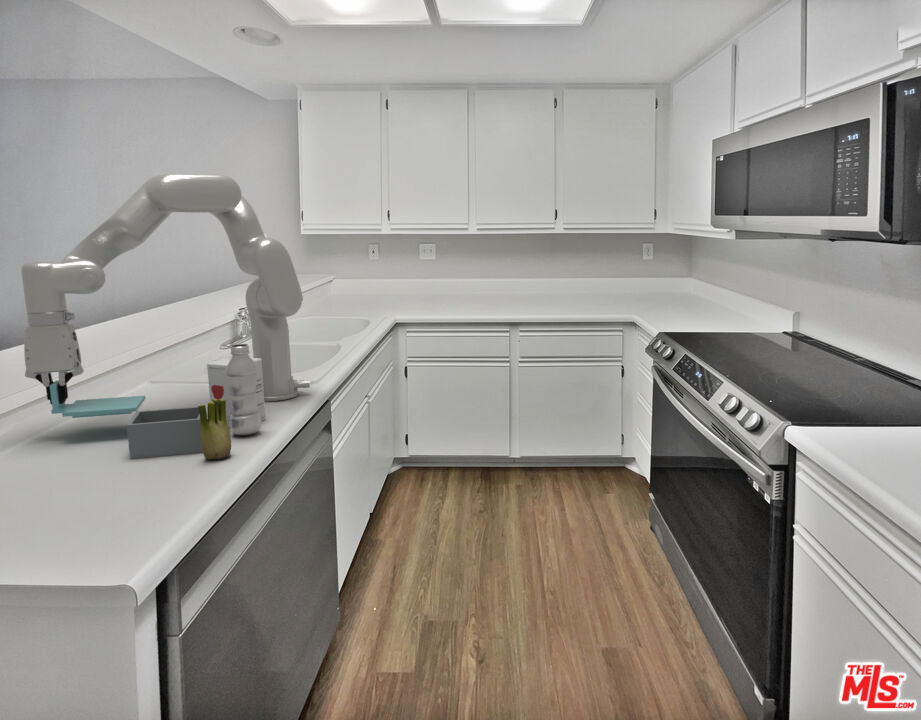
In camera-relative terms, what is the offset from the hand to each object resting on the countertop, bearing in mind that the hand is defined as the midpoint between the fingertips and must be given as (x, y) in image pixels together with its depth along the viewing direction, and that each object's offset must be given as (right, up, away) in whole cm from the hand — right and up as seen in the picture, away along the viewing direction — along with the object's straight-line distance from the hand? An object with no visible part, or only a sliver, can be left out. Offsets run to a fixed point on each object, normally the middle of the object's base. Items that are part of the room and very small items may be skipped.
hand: (58, 402), depth 159 cm
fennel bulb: (+40, -11, -14) cm, 43 cm away
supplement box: (+37, -6, +11) cm, 38 cm away
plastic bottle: (+41, -7, +1) cm, 42 cm away
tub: (+28, -9, -7) cm, 30 cm away
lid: (+8, -2, +2) cm, 8 cm away
